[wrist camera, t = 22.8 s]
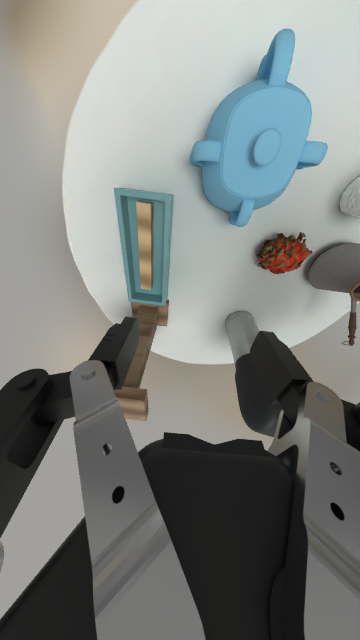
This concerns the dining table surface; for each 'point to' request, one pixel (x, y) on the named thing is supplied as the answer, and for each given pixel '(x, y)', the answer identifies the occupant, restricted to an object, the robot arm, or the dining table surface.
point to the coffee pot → (339, 276)
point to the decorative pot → (258, 138)
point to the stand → (140, 360)
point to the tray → (131, 249)
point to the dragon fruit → (283, 253)
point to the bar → (145, 242)
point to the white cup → (351, 199)
